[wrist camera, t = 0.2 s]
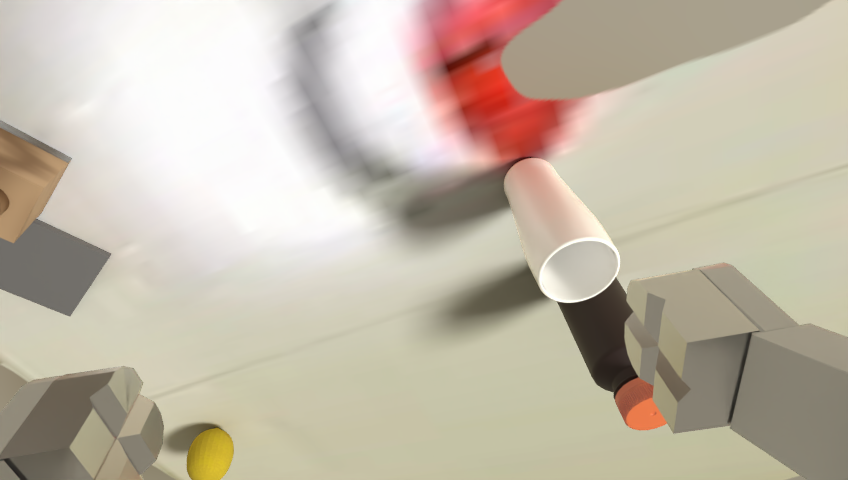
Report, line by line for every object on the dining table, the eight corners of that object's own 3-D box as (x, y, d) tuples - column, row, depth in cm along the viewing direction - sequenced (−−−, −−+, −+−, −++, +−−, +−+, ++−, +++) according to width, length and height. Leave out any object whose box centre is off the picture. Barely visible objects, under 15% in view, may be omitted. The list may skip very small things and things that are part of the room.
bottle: (533, 276, 61) (597, 425, 44) (572, 234, 58) (656, 378, 41) (575, 296, 63) (650, 444, 47) (614, 258, 60) (709, 401, 44)
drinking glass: (481, 179, 52) (519, 275, 40) (535, 135, 50) (593, 221, 38) (521, 218, 55) (567, 316, 43) (573, 177, 53) (637, 270, 41)
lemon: (223, 411, 69) (209, 467, 62) (246, 433, 72) (235, 488, 65) (186, 423, 69) (169, 480, 63) (211, 444, 73) (197, 501, 66)
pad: (-33, 270, 52) (-37, 274, 51) (1, 202, 48) (-3, 206, 48) (72, 312, 56) (69, 316, 56) (111, 253, 53) (109, 257, 52)
